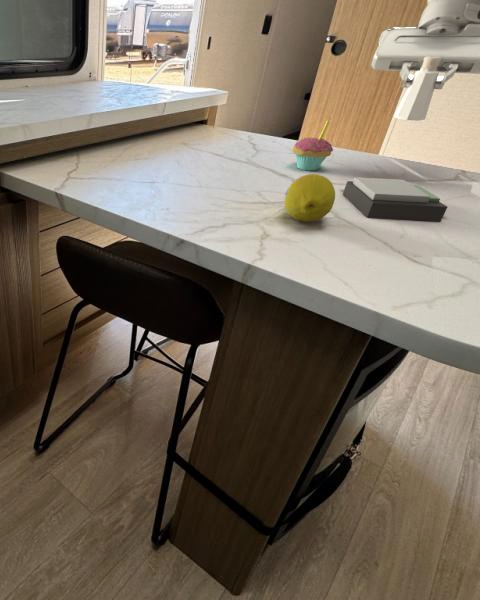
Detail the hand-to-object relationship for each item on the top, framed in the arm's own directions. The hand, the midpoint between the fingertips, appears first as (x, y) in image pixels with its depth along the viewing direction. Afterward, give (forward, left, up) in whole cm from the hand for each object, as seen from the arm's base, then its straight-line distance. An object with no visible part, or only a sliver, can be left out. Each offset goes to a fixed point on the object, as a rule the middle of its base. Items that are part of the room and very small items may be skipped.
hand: (422, 86), depth 82 cm
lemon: (+24, +26, -19) cm, 40 cm away
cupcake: (+14, -10, -19) cm, 26 cm away
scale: (+6, +16, -19) cm, 26 cm away
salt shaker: (0, -1, -6) cm, 6 cm away
